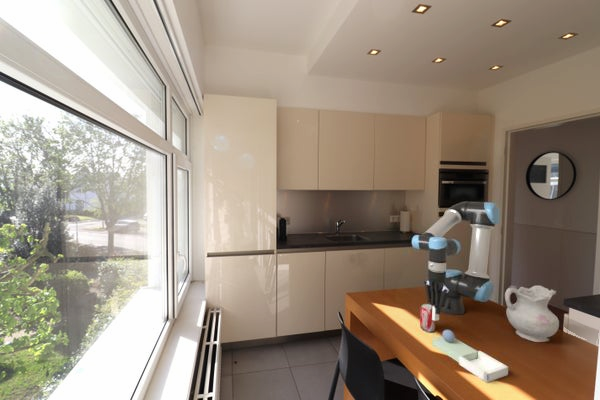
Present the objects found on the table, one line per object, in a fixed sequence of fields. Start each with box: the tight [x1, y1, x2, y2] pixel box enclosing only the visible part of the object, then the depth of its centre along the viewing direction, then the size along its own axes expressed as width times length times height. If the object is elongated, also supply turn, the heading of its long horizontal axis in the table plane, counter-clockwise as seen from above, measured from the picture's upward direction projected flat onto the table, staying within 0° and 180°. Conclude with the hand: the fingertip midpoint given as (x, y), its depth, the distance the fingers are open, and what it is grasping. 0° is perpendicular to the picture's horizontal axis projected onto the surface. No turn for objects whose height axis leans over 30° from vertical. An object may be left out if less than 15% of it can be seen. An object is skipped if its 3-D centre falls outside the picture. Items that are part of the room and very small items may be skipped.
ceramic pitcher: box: [504, 285, 560, 343], centre depth 132 cm, size 22×20×25 cm
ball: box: [441, 329, 456, 342], centre depth 122 cm, size 5×5×5 cm
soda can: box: [419, 303, 436, 333], centre depth 138 cm, size 7×7×12 cm
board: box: [432, 336, 479, 363], centre depth 119 cm, size 10×14×3 cm
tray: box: [458, 350, 509, 384], centre depth 107 cm, size 12×11×3 cm
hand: (435, 319), depth 128 cm, fingers closed
